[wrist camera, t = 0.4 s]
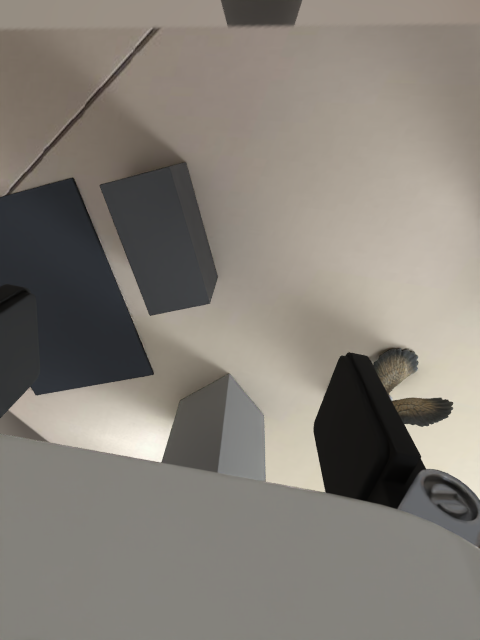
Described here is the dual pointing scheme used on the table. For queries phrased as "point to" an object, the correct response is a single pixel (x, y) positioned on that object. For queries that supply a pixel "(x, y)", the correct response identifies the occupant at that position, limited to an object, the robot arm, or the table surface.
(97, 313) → the rubber mat
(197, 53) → the table surface
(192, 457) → the perfume bottle
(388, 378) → the eagle figurine
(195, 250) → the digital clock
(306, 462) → the table surface
